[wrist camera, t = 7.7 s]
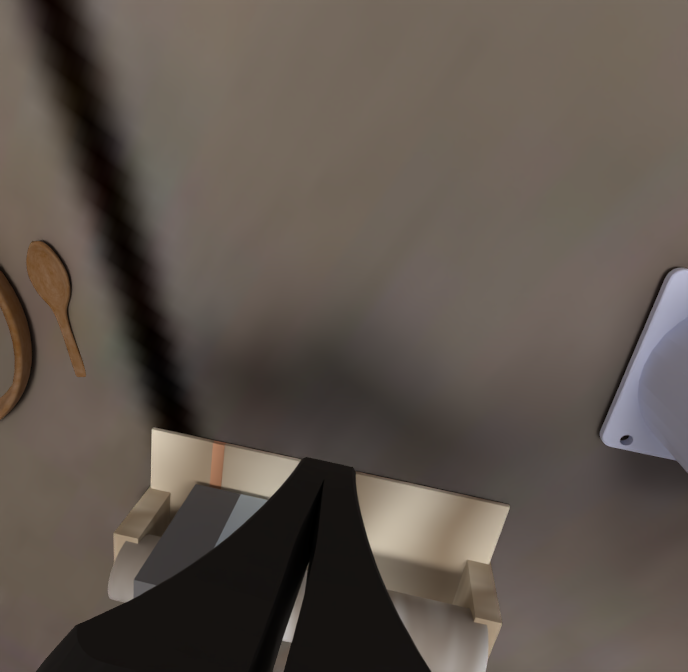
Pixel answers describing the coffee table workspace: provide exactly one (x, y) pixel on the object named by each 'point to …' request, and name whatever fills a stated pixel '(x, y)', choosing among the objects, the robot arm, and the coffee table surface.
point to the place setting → (54, 291)
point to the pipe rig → (382, 531)
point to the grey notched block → (187, 535)
